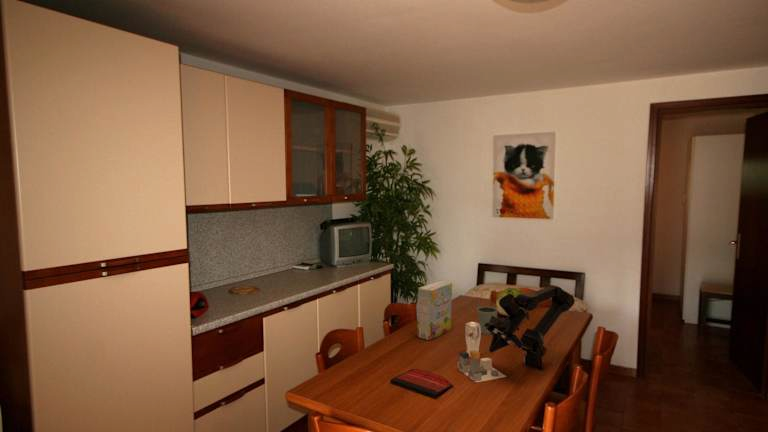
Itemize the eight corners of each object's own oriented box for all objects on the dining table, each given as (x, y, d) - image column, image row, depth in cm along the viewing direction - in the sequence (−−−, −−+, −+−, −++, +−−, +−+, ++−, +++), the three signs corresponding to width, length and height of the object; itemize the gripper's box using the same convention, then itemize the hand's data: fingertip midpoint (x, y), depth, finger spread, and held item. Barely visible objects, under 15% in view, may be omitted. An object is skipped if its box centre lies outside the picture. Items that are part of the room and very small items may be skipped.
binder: (436, 394, 157) (389, 378, 170) (435, 400, 157) (389, 384, 170) (457, 380, 170) (413, 366, 183) (457, 386, 170) (413, 372, 183)
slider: (488, 366, 182) (488, 357, 182) (491, 369, 180) (491, 359, 180) (480, 368, 181) (480, 358, 181) (483, 370, 179) (483, 361, 178)
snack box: (431, 341, 215) (431, 290, 213) (416, 338, 220) (416, 287, 218) (452, 329, 232) (452, 282, 230) (438, 326, 237) (438, 280, 235)
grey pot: (495, 328, 233) (495, 306, 232) (498, 335, 223) (498, 312, 222) (476, 328, 234) (476, 306, 233) (478, 334, 224) (478, 311, 223)
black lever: (464, 366, 181) (464, 350, 181) (468, 369, 178) (468, 353, 178) (459, 366, 181) (459, 351, 180) (463, 370, 177) (463, 354, 177)
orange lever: (474, 373, 174) (475, 350, 173) (479, 377, 171) (479, 353, 170) (469, 374, 173) (469, 351, 173) (474, 378, 170) (474, 354, 169)
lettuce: (488, 319, 250) (488, 292, 248) (505, 308, 271) (505, 283, 270) (514, 323, 241) (514, 296, 240) (529, 312, 262) (529, 286, 261)
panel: (486, 365, 186) (486, 357, 186) (506, 378, 173) (506, 370, 173) (457, 370, 181) (457, 362, 181) (476, 385, 168) (476, 375, 168)
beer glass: (469, 360, 191) (469, 327, 190) (462, 354, 198) (462, 322, 197) (483, 359, 193) (483, 325, 192) (476, 353, 200) (476, 321, 199)
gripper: (488, 303, 183) (465, 332, 180) (516, 315, 166) (491, 347, 163) (503, 319, 187) (481, 348, 184) (533, 333, 169) (509, 365, 166)
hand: (490, 351), depth 174 cm, fingers closed
